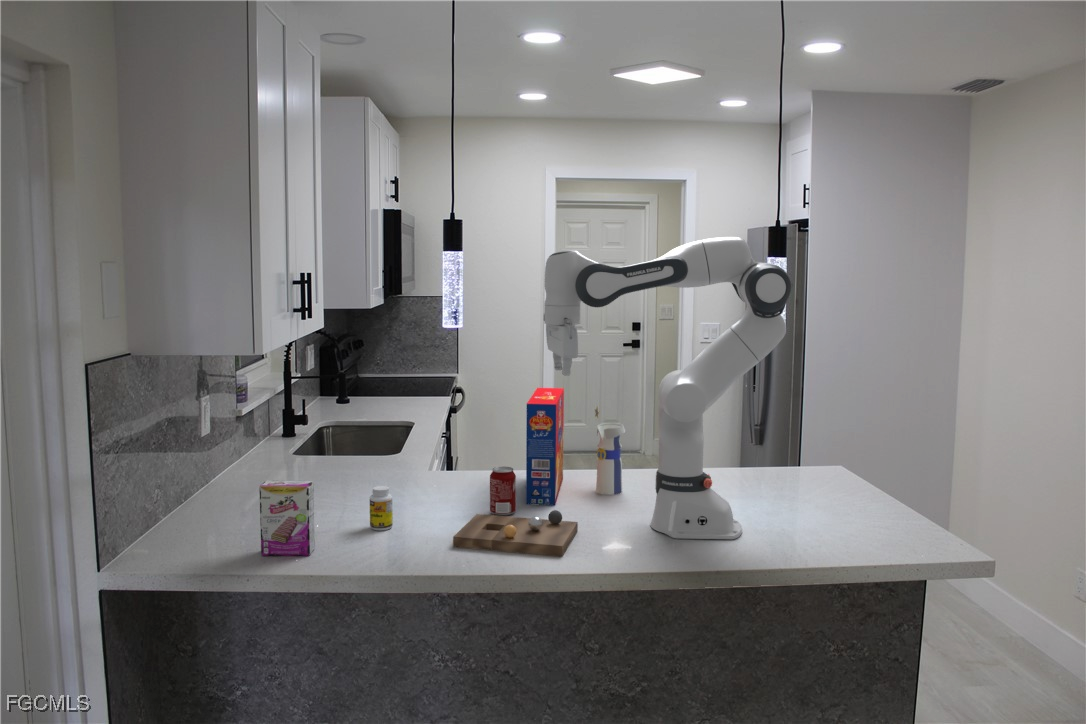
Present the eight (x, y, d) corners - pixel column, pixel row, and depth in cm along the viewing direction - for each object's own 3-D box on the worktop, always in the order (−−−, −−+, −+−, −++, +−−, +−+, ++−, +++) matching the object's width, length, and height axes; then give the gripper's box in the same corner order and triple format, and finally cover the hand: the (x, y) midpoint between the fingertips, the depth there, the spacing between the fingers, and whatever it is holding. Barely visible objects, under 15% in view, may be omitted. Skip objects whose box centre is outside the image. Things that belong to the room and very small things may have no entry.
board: (577, 531, 211) (577, 521, 210) (562, 556, 193) (562, 545, 193) (476, 523, 217) (476, 514, 216) (453, 547, 199) (453, 536, 199)
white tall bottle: (609, 497, 241) (610, 409, 238) (588, 490, 248) (589, 405, 245) (630, 492, 246) (631, 406, 243) (609, 485, 253) (610, 402, 250)
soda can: (512, 518, 222) (512, 472, 220) (487, 516, 223) (486, 471, 221) (518, 510, 228) (518, 466, 227) (493, 508, 229) (493, 465, 228)
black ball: (563, 522, 210) (563, 509, 210) (560, 526, 207) (560, 513, 206) (549, 521, 211) (550, 508, 210) (546, 525, 207) (546, 512, 207)
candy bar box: (260, 557, 192) (257, 485, 190) (266, 549, 197) (264, 480, 195) (310, 556, 192) (308, 485, 190) (315, 549, 197) (313, 479, 195)
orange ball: (518, 535, 200) (518, 523, 199) (514, 540, 197) (514, 527, 196) (505, 534, 200) (505, 522, 200) (502, 539, 198) (502, 526, 197)
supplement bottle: (365, 529, 212) (364, 488, 211) (380, 523, 217) (379, 483, 215) (382, 532, 209) (382, 492, 208) (397, 526, 214) (396, 486, 213)
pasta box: (555, 505, 233) (556, 404, 230) (526, 504, 234) (526, 403, 230) (562, 478, 261) (563, 388, 257) (536, 478, 261) (537, 387, 258)
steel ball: (544, 528, 205) (544, 515, 205) (540, 533, 202) (540, 519, 201) (530, 527, 206) (530, 514, 205) (526, 532, 202) (526, 518, 202)
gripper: (584, 319, 200) (584, 378, 202) (566, 313, 220) (565, 367, 222) (558, 320, 199) (558, 378, 201) (542, 314, 219) (542, 367, 221)
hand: (562, 372), depth 212 cm, fingers open, 8 cm apart
